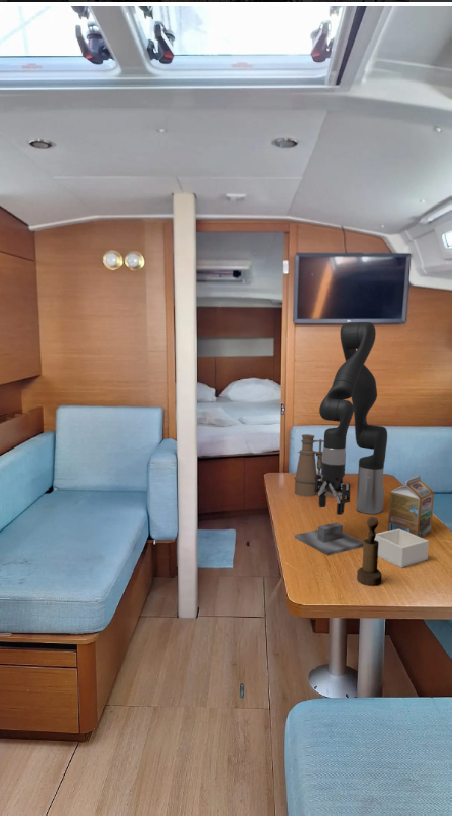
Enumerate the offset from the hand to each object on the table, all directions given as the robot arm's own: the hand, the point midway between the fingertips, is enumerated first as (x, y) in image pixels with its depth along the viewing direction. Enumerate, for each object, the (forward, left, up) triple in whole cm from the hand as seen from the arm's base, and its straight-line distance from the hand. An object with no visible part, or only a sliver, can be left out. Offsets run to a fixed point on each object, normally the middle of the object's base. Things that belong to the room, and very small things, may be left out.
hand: (330, 510), depth 171 cm
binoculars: (-32, -43, -11) cm, 55 cm away
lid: (0, 0, -11) cm, 11 cm away
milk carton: (-31, +6, -11) cm, 34 cm away
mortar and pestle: (+9, +26, -11) cm, 30 cm away
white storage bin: (-11, +19, -11) cm, 24 cm away
